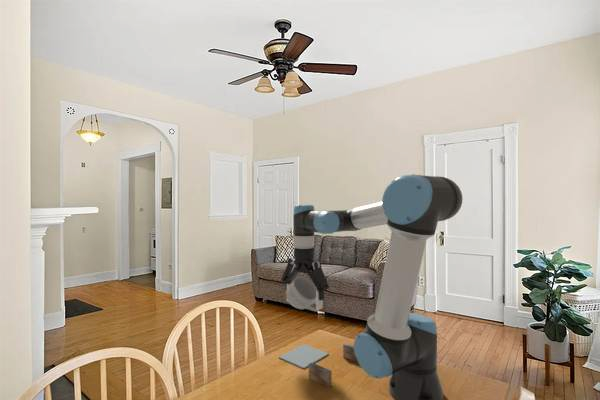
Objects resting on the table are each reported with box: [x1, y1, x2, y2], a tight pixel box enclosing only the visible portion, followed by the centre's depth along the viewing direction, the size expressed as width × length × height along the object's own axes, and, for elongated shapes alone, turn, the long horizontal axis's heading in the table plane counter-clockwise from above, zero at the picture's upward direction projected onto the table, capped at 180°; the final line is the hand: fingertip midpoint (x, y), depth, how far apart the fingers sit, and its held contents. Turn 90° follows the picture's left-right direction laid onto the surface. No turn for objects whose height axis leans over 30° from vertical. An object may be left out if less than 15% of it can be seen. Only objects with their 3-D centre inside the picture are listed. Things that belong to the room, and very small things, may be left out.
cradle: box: [308, 342, 359, 389], centre depth 113 cm, size 8×21×5 cm, turn 138°
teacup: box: [285, 275, 321, 312], centre depth 122 cm, size 14×11×8 cm
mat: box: [278, 343, 330, 370], centre depth 123 cm, size 12×14×1 cm
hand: (304, 305), depth 123 cm, fingers closed on teacup, 13 cm apart
